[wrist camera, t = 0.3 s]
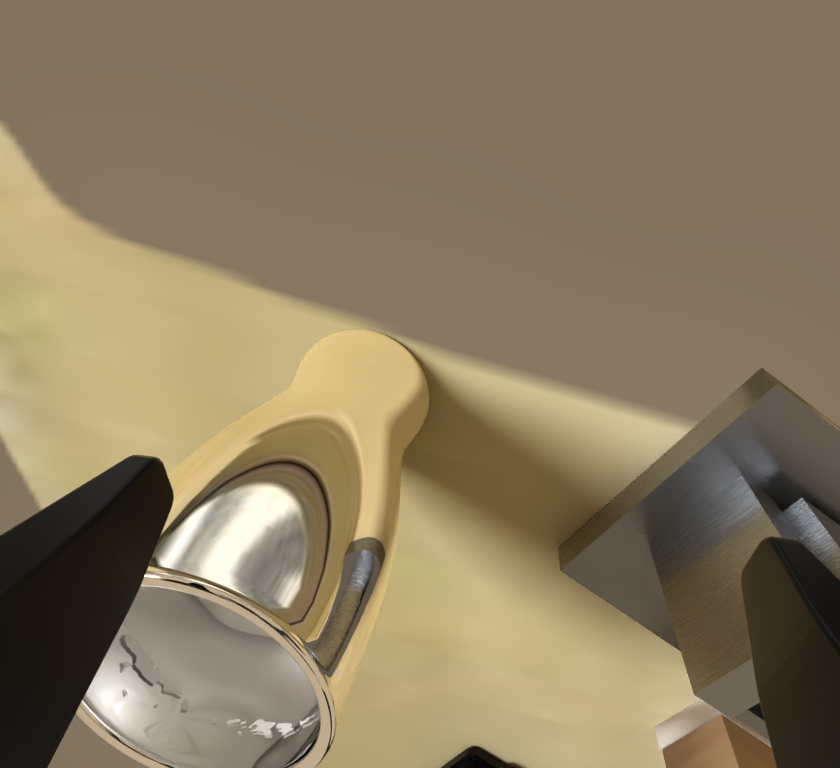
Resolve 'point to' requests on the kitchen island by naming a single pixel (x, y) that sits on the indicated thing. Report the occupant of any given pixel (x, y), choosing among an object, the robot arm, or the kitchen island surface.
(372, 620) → the beer glass
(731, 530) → the bracket
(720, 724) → the brown rectangular block
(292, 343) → the kitchen island surface
